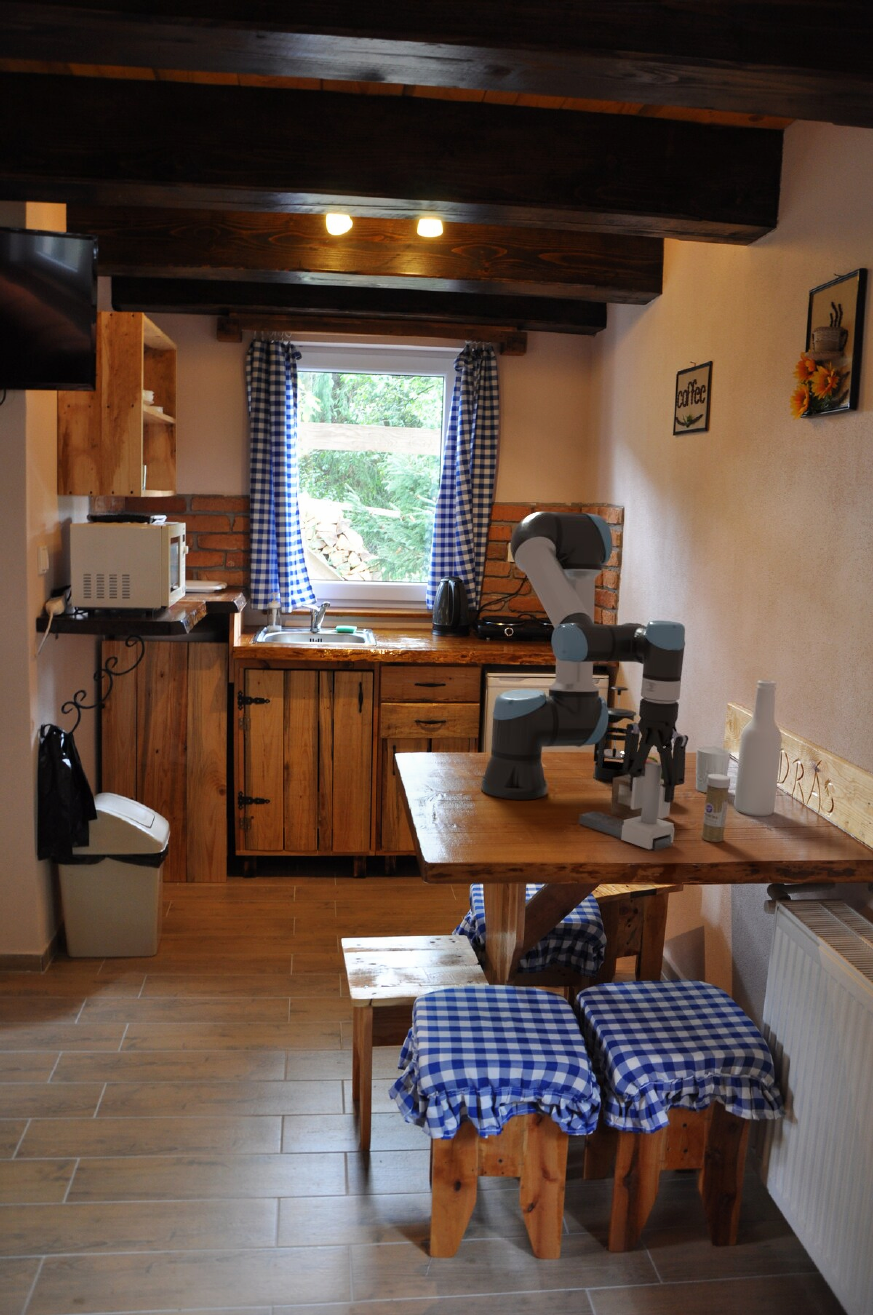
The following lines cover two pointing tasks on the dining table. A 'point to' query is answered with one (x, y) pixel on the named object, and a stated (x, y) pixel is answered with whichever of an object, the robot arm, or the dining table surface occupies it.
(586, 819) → the rail
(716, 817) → the sprinkles bottle
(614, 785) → the button box
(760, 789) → the alcohol
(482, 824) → the dining table surface
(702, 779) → the white cup
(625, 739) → the french press
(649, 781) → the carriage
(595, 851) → the dining table surface
